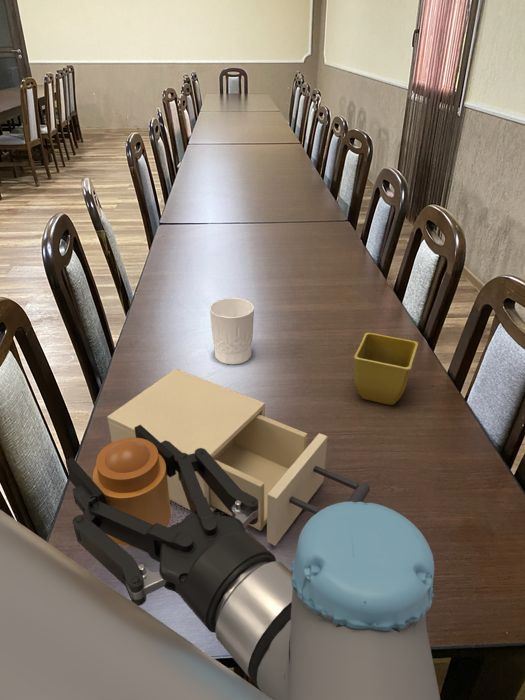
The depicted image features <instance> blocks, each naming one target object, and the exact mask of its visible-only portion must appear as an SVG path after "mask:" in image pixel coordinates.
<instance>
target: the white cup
mask: <svg viewBox="0 0 525 700" xmlns="http://www.w3.org/2000/svg"><path fill="white" fill-rule="evenodd" d="M254 316H255V306H254V304H253V303H252V302H251V301H250V300H247V299H245V298H244V299H243V298H240V297H226V298H220V299H218V300H216V301H214V302H212V303H211V304H210V306H209V318H210V326H211V327H210V328H211V335H212V341H213V342H212V343H213V346H214V347H213V348H214V356H215V359H217V361H218V362H220V363H222V364H226V365H240V364H243V363H245V362H247V361H248V360H249V359H250V358H251V356H252V344H253V338H254V336H253V335H254V318H255V317H254Z"/></svg>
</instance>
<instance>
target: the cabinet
mask: <svg viewBox="0 0 525 700" xmlns="http://www.w3.org/2000/svg"><path fill="white" fill-rule="evenodd" d="M258 414H260V415H262V416H265V417H266V402H264V401H261V400H260V399H259V400H258V399H256V398H253V397H250V396H248V395H245V394H243V393H241V392H238V391H235V390H233V389H230V388H228V387H225V386H222V385H219V384H218V383H215V382H212V381H209V380H207V379H204V378H202V377H199V376H196V375H195V374H191V373H189V372H186V371H183V370H181V369H178V368H174V369H173V370H172V371H170V372H169V373H167V374H165V376H163V377H161V378H160V379H159V380H157V381H156V382H155V383H153V384H152V385H150V386H149V387H147V388H146V389H144V390H143V391H142V392H140V393H139V394H137V395H136V396H134V397H133V398H131V399H130V400H128V401H127V402H126V403H125V404H123V405H122V406H120V407H118V408H117V409H116V410H114V411H113V412H112V413H110V414H109V415H107V416H106V419H107V423H108V429H109V434H110V439H111V443H112V442H114V441H117V440H120V439H124V438H136V435H135V428H134V427H136V426H138V425H141V426H143V427H144V428H145V429H146V430H147V431H148V432H149V433H150V434H152V435H153V436H154V437H155V438H156V439H157V440H158V441H159V442H160V443H161V442H163V441H165V440H166V441H169V442H170V443H172V445H174V446H175V447H176V448H177V449H178V450H180V451H181V452H182V453H186V454H193V453H195V450H196V449H198V448H203V449H205V450H206V451H207V452H208V453H209V454H210V455H211V456H212V458H213V457H214V456H215V455H216V454H217V453H218V452H219V451H220V450H221V449H222V448H223V447H224V446H225V445H226V444H227V443H229V442H230V441H231V440H232V439H233V438H234V437H235V436H236V435H237V434H238V433H239V432H240V431H241V430H242V429H243V428H244V427H245V426H246V425H247V424H248V423H249V422H250V421H252V420H253V419H254V418H255V417H256V416H257V415H258ZM195 474H196V476H197V479H198V482H199V484H200V487H201V489H202V492H203V494H204V497H206V499H207V501H208V504H209V488H208V485H207V483H206V482H205V481H204V480H203V479H202V477H201V476H200V475H199V474H198V473H197V471H195ZM167 480H168V490H169V499H170V501H172V502H173V503H176V504H177V505H179V506H181V507H183V508H185V509H187V510H189V511H190V512H191V510H190V507H189V504H188V501H187V498H186V496H185V493H184V490H183V487H182V484H181V482H180V481H179V477H178V472H177V471H176V474H175V475H174V476H172V477H169V476H168V475H167ZM209 506H210V509H211V511H212V514H214V512H215V511H216V510H217V509H218V508H216V507H214V506H212V505H210V504H209Z"/></svg>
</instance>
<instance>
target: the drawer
mask: <svg viewBox="0 0 525 700" xmlns="http://www.w3.org/2000/svg"><path fill="white" fill-rule="evenodd" d="M307 442H308V433H307V432H304V431H302V430H299V429H297V428H294V427H292V426H289V425H287V424H284V423H283V422H279V421H277V420H274V419H272V418H270V417H267V416H266V415H265V416H262V415H260V414H258V415H257V416H256V417H255V418H254V419H253V420H252V421H250V422H249V423H248V424H247V425H246V426H245V427H244V428H243V429H242V430H241V431H240V432H239V433H238V434H237V435H236V436H235V437H234V438H233V439H232V440H231V441H230V442H229V443H227V444H226V445H225V446H224V447H223V448H222V449H221V450H220V451H219V452H218V453H217V454H216V455H215V456H214V457H213V459H214V460H215V461H216V462H217V463H218V464H219V465H220V467H221V468H222V469H223V470H224V471H225V472H226V473H227V474H228V476H229V477H230V478H231V479H232V480H233V481H234V482H235V483H236V484H237V486H238V487H239V488H240V489H241V490H242V491H244V492H246V493H248V494H250V495H252V496H253V497H255V498H257V499H258V522H257V523H256V524H253V525H250V524H248V525H247V526H250V527H252V528H254V529H256V530H258V531H260V532H261V531H262V530H263V528H264V527H266V542H267V543H269V544H271V545H273V546H274V547H276V546H277V545H278V543H279V542H280V540H281V539H282V538H283V536H284V535H285V534H286V532H287V531H288V530H289V528H290V527H291V526H292V524H293V523H294V521H295V520H296V519H297V518H298V516H299V515H300V514H301V512H302V511H303V510H304V511H306V512H309V513H310V514H313V515H315V514H316V513H318V512H319V511H320V510H322V509H321V508H319V507H317V506H314V505H312V504H310V503H309V502H310V500H311V499H312V497H313V496H314V495H315V493H316V492H317V491H318V490H319V488H320V487H321V486H322V484H323V483H324V480H325V479H324V478H327V479H329V480H332V481H334V482H337V483H339V484H341V485H344V486H346V487H348V488H351V489H353V490H354V491H353V493H352V494H351V496H350V497H349V499H348V500H347V502H350V501H352V502H355V503H356V502H363V503H364V501H365V499H366V497H367V496H368V495H369V493H370V491H371V486H370V485H369V484H368V483H366V482H364V481H363V482H360V483H358V482H355V481H352V480H350V479H348V478H347V477H346V478H345V477H344V476H341V475H338V474H337V473H335V472H332V471H329V470H327V469H326V458H327V457H326V456H327V445H328V436H327V435H325V434H323V433H320V432H318V434H317V435H316V436H315V437H314V438H313V440H312V441H311V442H310V443H309V444H308V443H307ZM307 445H308V446H307ZM208 488H209V504H210V505H212V506H214V507H216V508H217V509H218V510H220V511H222V512H223V513H225V514H227V515H228V516H230V517H232V513H231V512H230V511H229V510H228V509H227V508H226V506H225V505H224V504H223V503H222V502H221V500H220V499H219V498H218V497H217V495H216V494H215V493H214V492H213V491H212V489H211V488H210V487H209V486H208Z"/></svg>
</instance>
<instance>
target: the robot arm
mask: <svg viewBox="0 0 525 700" xmlns="http://www.w3.org/2000/svg"><path fill="white" fill-rule="evenodd" d="M134 428H135V435H136V438H142V439H146V440H148V441H150V442H151V443H153V444H154V445H155V446H156V448H157V450H158V453H159V454H160V455H161V456H162V457H163V459H164V461H165V464H166V471H167V475H168V476H169V477H172V476H174V475H175V474H176V471H177V472H178V477H179V481H180V482H181V484H182V487H183V490H184V493H185V496H186V498H187V501H188V504H189V507H190V510H191V511H190V510H189V511H190V512H191V513H188V514H187V515H185V517H184V518H183V519H182V520H181V521H179V522H177V523H173V524H172V525H170V526H169V527H168V526H167V527H165V526H163V525H161V524H158V523H155V524H154V525H152V524H150V523H148V522H145V521H143V520H141V519H139V518H136V517H134V516H132V515H129V514H127V513H125V512H123V511H120V510H118V509H116V508H114V507H111V506H109V505H107V504H106V502H105V497H104V493H103V492H102V491H101V489H100V488H99V487H98V486H97V485H96V484H95V483H94V482H93V480H92V477H90V476H89V474H88V473H86V471H85V470H84V469H83V468H82V467H81V465H80V464H79V463H78V462H77V461H76V460H75V459H74V458H73V457H70V458H68V459H66V460H65V461H64V462H65V465H66V469H67V474H68V478H69V481H70V483H71V484H72V485H73V486H74V487H73V488H72V494H73V499H74V503H75V505H76V506H77V507H78V508H79V510H80V511H81V512H82V513H83V514H79V515H76V516H74V517H73V518H72V526H73V530H74V533H75V534H74V535H75V537H76V542H77V543H78V544H79V545H80V546H82V547H83V549H85V550H86V551H87V553H89V554H90V555H91V556H92V557H93V558H94V559H95V560H97V561H98V563H100V564H101V566H103V567H104V568H105V569H106V570H107V571H108V572H109V573H111V574H112V576H114V577H115V578H116V579H117V580H118V581H119V582H120V583H121V584H122V585H123V586H124V587H125V588H126V591H127V594H128V596H129V598H128V597H127V596H125V595H124V594H122V593H121V592H120V591H118V590H117V589H115V588H114V587H112V586H111V585H109V584H108V583H107V582H105V581H104V580H102V579H101V578H99V577H98V576H97V575H95V574H93V573H92V572H91V571H89V570H88V569H86V568H85V567H83V566H82V565H81V564H79V563H78V562H76V561H75V560H73V559H72V558H71V557H69V556H68V555H66V554H65V553H63V552H62V551H61V550H59V549H58V548H56V547H55V546H54V545H52V544H51V543H49V542H48V541H46V540H45V539H44V538H42V537H41V536H39V535H37V534H36V533H35V532H34V531H32V530H30V529H29V528H28V527H26V526H25V525H23V524H22V523H20V522H19V521H18V520H16V519H14V518H13V517H12V516H10V515H9V514H7V513H6V512H5V511H3V510H2V509H0V700H441V696H440V690H439V686H438V685H439V684H438V680H437V675H436V669H435V664H434V659H433V655H432V649H431V644H430V638H429V634H428V628H427V612H428V611H429V610H430V609H431V607H432V604H433V599H434V596H435V593H434V588H433V585H434V577H435V560H434V555H433V552H432V549H431V547H430V545H429V542H428V541H427V539H426V538H425V536H424V534H423V533H422V532H421V531H420V530H419V528H418V527H417V526H416V525H415V524H414V523H413V522H412V521H411V520H409V519H407V517H405V516H404V515H402V514H401V513H399V512H397V511H395V510H394V509H393V508H390V507H387V506H385V505H381V504H378V503H374V502H364V501H363V502H356V503H355V502H352V501H350V502H348V501H342V502H337V503H334V504H330V505H328V506H326V507H324V508H323V509H321V510H320V511H319V512H318V513H316V514H313V515H312V516H311V518H309V520H308V521H307V522H306V523H305V525H304V526H303V528H302V529H301V531H300V533H299V536H298V540H297V545H296V551H295V557H294V559H293V561H292V562H291V567H290V568H289V567H288V566H286V565H285V563H283V562H281V561H277V559H276V556H275V555H274V554H273V553H272V552H271V551H270V550H269V549H268V548H267V547H265V546H264V545H263V544H262V543H261V542H260V541H259V540H258V539H257V538H256V537H254V536H253V535H252V534H251V533H250V532H248V531H246V527H247V526H250V525H253V524H256V523H257V522H258V499H257V498H255V497H253V496H252V495H250V494H248V493H246V492H244V491H242V490H241V489H240V488H239V487H238V486H237V484H236V483H235V482H234V481H233V480H232V479H231V478H230V477H229V476H228V474H227V473H226V472H225V471H224V470H223V469H222V468H221V467H220V465H219V464H218V463H217V462H216V461H215V460H214V459H213V458H212V456H211V455H210V454H209V453H208V452H207V451H206V450H205V449H203V448H198V449H196V450H195V453H193V454H186V453H182V452H181V451H180V450H178V449H177V448H176V447H175V446H174V445H172V443H170V442H169V441H166V440H165V441H163V442H161V443H160V442H159V441H158V440H157V439H156V438H155V437H154V436H153V435H152V434H150V433H149V432H148V431H147V430H146V429H145V428H144V427H143V426H141V425H138V426H136V427H134ZM195 471H197V473H198V474H199V475H200V476H201V477H202V479H203V480H204V481H205V482H206V483H207V485H208V486H209V487H210V488H211V489H212V491H213V492H214V493H215V494H216V495H217V497H218V498H219V499H220V500H221V502H222V503H223V504H224V505H225V506H226V508H227V509H228V510H229V511H230V512H231V513H232V516H229V515H223V514H218V513H217V514H216V513H212V511H211V509H210V506H209V504H208V501H207V499H206V497H204V494H203V492H202V489H201V487H200V484H199V482H198V479H197V476H196V474H195ZM248 524H250V525H248ZM105 533H106V534H105ZM107 534H108V535H110V536H112V537H114V538H116V539H118V540H121V541H123V542H125V543H127V544H129V545H131V546H130V547H134V548H136V549H138V550H140V551H141V552H144V553H147V554H148V556H149V557H150V558H151V559H152V560H154V561H156V562H158V563H159V567H158V570H156V571H153V570H151V569H149V567H148V566H146V565H145V564H144V563H140V564H139V565H138V562H137V561H136V560H135V559H134V557H133V556H132V555H131V554H130V553H129V552H127V551H126V550H125V548H123V547H122V546H121V545H120V544H117V543H116V542H115V541H113V540H112V539H111V538H110V537H109V536H108V535H107ZM162 588H165V589H166V590H168V591H172V592H174V593H176V594H178V596H179V597H180V598H181V599H182V601H183V602H184V603H185V605H187V607H188V608H189V609H190V610H191V612H192V613H193V614H194V615H195V616H196V617H197V619H199V621H200V622H201V623H202V624H203V625H204V626H205V628H206V629H207V630H208V631H209V632H210V633H213V634H215V638H216V639H217V641H218V642H219V644H220V645H221V646H222V647H223V648H224V649H225V651H226V652H227V653H228V654H229V655H230V657H231V658H232V659H233V660H234V661H235V663H236V664H237V665H238V666H239V667H240V668H241V670H242V671H243V672H244V673H245V674H246V676H247V677H248V678H249V679H250V680H251V681H252V683H254V685H255V686H254V685H253V684H251V683H250V682H248V681H247V680H246V679H245V678H244V677H243V678H242V677H241V676H240V675H238V674H237V673H236V672H234V671H233V670H231V669H230V668H229V667H227V666H225V665H224V664H222V663H221V662H220V661H218V660H217V659H215V658H214V657H212V656H211V655H210V654H209V653H207V652H206V651H204V650H203V649H201V648H200V647H198V646H197V645H195V644H194V643H193V642H191V641H189V640H188V639H187V638H185V637H184V636H183V635H181V634H180V633H178V632H177V631H176V630H174V629H172V628H171V627H170V626H168V625H167V624H165V623H164V622H163V621H161V620H160V619H158V618H157V617H155V616H154V615H152V614H151V613H150V612H148V611H146V610H145V609H144V608H142V607H141V606H142V605H144V604H145V603H146V601H147V595H149V594H152V593H153V592H155V591H158V590H161V589H162ZM256 686H257V687H256Z"/></svg>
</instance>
